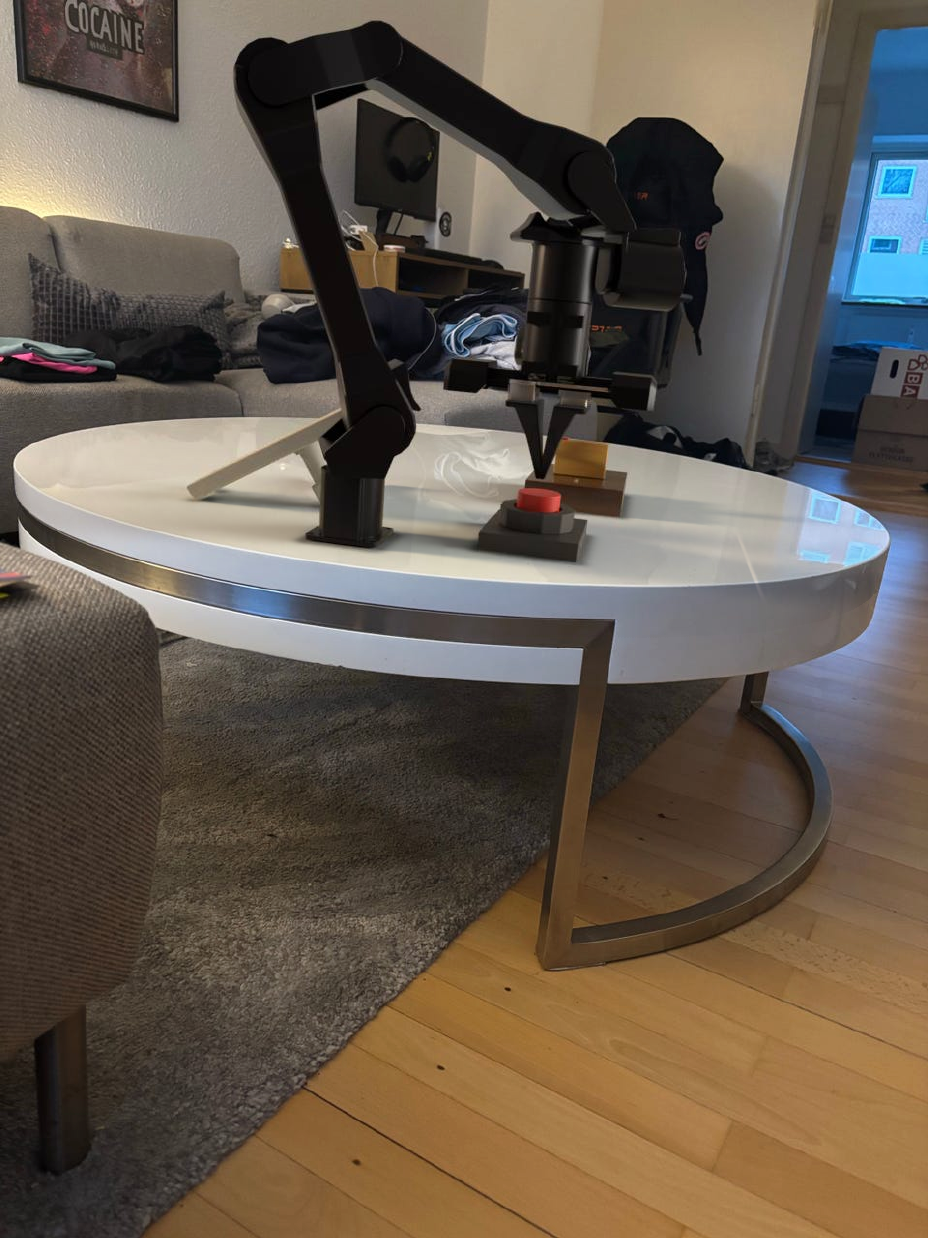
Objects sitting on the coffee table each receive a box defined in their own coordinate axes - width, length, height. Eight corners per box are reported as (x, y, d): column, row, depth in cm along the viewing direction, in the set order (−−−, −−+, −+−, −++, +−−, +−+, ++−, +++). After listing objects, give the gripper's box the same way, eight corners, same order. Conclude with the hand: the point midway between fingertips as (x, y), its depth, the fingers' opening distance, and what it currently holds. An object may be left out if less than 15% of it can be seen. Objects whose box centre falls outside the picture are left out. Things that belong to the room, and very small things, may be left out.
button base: (576, 562, 81) (581, 524, 80) (477, 549, 83) (480, 511, 82) (585, 536, 92) (589, 501, 90) (497, 525, 93) (500, 491, 92)
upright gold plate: (604, 477, 108) (609, 441, 107) (604, 479, 107) (608, 442, 106) (554, 471, 109) (558, 435, 108) (553, 473, 108) (557, 437, 107)
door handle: (225, 557, 94) (397, 475, 90) (185, 486, 92) (360, 400, 88) (269, 517, 111) (416, 447, 107) (236, 456, 108) (385, 382, 105)
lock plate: (620, 517, 102) (623, 489, 101) (522, 505, 104) (525, 478, 103) (624, 496, 115) (627, 470, 114) (537, 485, 117) (540, 461, 116)
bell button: (556, 517, 84) (558, 498, 83) (513, 512, 85) (515, 493, 84) (560, 509, 88) (562, 491, 87) (519, 504, 88) (521, 486, 88)
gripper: (667, 312, 86) (642, 477, 91) (473, 295, 89) (460, 456, 94) (668, 310, 76) (640, 496, 81) (448, 291, 79) (435, 472, 84)
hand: (540, 478), depth 85 cm, fingers closed
